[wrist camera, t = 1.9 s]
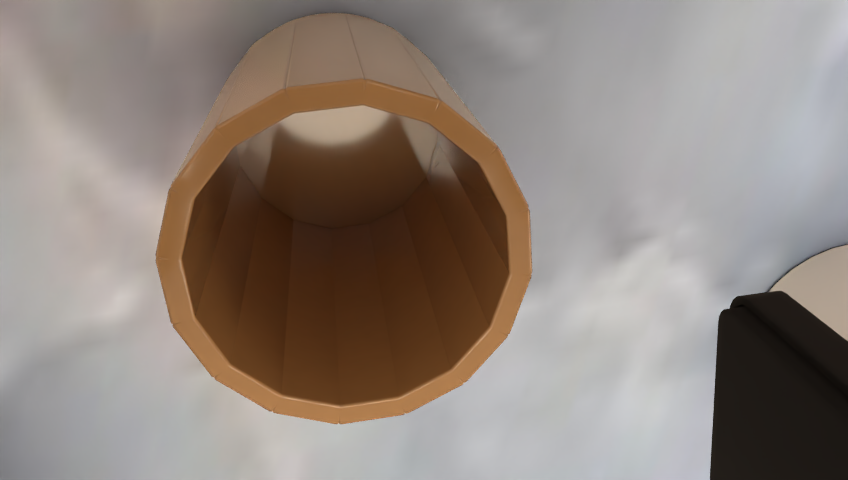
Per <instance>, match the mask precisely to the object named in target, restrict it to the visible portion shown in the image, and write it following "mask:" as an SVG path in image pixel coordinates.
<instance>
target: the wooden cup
mask: <svg viewBox="0 0 848 480" xmlns="http://www.w3.org/2000/svg"><path fill="white" fill-rule="evenodd" d="M156 264H157V268H158V272H159V276H160V280H161V284H162V288H163V293H164V297H165V301H166V305H167V309H168V313H169V317H170V321H171V323H172V324H173V327H174V329H175V330H176V331H177V332H178V334H179V335H180V336H181V337H182V339H183V340H184V341H185V343H186V344H187V345H188V346H189V348H190V349H191V350H192V352H193V353H194V354H195V355H196V357H197V358H198V359H199V361H200V362H201V363H202V364H203V366H204V367H205V368H206V370H207V371H208V372H209V373H210V375H211V376H212V377H214V378H215V380H217V381H219V382H220V383H222V384H224V385H225V386H227V387H229V388H231V389H232V390H234V391H236V392H237V393H239V394H241V395H243V396H244V397H246V398H248V399H249V400H251V401H253V402H255V403H256V404H258V405H260V406H262V407H263V408H265V409H267V410H268V411H273V412H274V413H277V414H283V415H288V416H294V417H299V418H305V419H310V420H316V421H322V422H327V423H333V424H338V423H339V424H346V423H353V422H359V421H366V420H372V419H379V418H385V417H392V416H398V415H403V414H405V413H409V412H411V411H413V410H415V409H417V408H419V407H421V406H423V405H424V404H426V403H428V402H430V401H432V400H434V399H436V398H438V397H440V396H442V395H444V394H446V393H447V392H449V391H451V390H453V389H455V388H457V387H459V386H461V385H462V384H463V382H466V381H467V380H468V379H469V378H470V377H471V376H472V375H473V374H474V373H475V372H476V371H477V369H478V368H479V367H480V366H481V365H482V364H483V363H484V362H485V361H486V360H487V359H488V358H489V356H490V355H491V354H492V353H493V352H494V351H495V350H496V349H497V348H498V347H499V346H500V344H501V343H502V342H503V341H504V340H505V339H506V338H507V336H508V334H509V333H510V331H511V328H512V326H513V323H514V321H515V318H516V315H517V313H518V310H519V308H520V305H521V302H522V300H523V297H524V295H525V292H526V289H527V287H528V284H529V281H530V279H531V274H532V253H531V229H530V210H529V209H528V204H527V202H526V200H525V198H524V196H523V194H522V192H521V190H520V188H519V186H518V184H517V182H516V180H515V178H514V176H513V174H512V172H511V170H510V168H509V166H508V164H507V162H506V160H505V158H504V156H503V154H502V152H501V150H500V149H499V147H498V146H497V145H496V143H495V142H494V141H493V140H492V138H491V137H490V136H489V135H488V133H487V132H486V131H485V129H484V128H483V127H482V126H481V124H480V123H479V122H478V121H477V119H476V118H475V117H474V115H473V114H472V113H471V112H470V110H469V109H468V108H467V107H466V105H465V104H464V103H463V102H462V100H461V99H460V98H459V96H458V95H457V94H456V93H455V91H454V90H453V89H452V88H451V86H450V85H449V84H448V82H447V81H446V80H445V79H444V77H443V76H442V75H441V74H440V72H439V71H438V70H437V68H436V67H435V66H434V65H433V63H432V62H431V61H430V60H429V58H428V57H427V56H426V55H425V54H424V53H423V52H421V51H420V50H419V49H418V48H416V47H415V46H414V45H413V44H412V43H411V42H410V41H409V40H408V39H407V38H405V37H404V36H402V35H401V34H400V33H398V32H397V31H396V30H395V29H394V28H391V27H390V26H387V25H384V24H383V23H380V22H377V21H375V20H372V19H369V18H366V17H362V16H358V15H353V14H345V13H320V14H314V15H309V16H304V17H301V18H298V19H294V20H292V21H289V22H287V23H285V24H283V25H281V26H279V27H277V28H275V29H274V30H272V31H271V32H269V33H268V34H266V35H265V36H263V37H262V38H261V39H259V40H257V41H256V42H255V43H254V44H253V45H252V46H251V47H250V49H249V50H248V51H247V53H246V54H245V55H244V56H243V57H242V59H241V60H240V62H239V63H238V65H237V66H236V68H235V69H234V70H233V72H232V73H231V75H230V76H229V77H228V79H227V80H226V82H225V84H224V86H223V88H222V90H221V92H220V94H219V95H218V97H217V99H216V101H215V103H214V105H213V107H212V109H211V111H210V112H209V114H208V116H207V118H206V120H205V122H204V124H203V126H202V128H201V129H200V131H199V133H198V135H197V137H196V139H195V141H194V143H193V145H192V146H191V148H190V150H189V152H188V154H187V156H186V158H185V160H184V162H183V163H182V165H181V167H180V169H179V171H178V173H177V175H176V177H175V179H174V180H173V182H172V184H171V187H170V189H169V191H168V196H167V201H166V206H165V211H164V216H163V220H162V225H161V230H160V235H159V240H158V245H157V250H156Z"/></svg>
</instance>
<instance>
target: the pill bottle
mask: <svg viewBox="0 0 848 480" xmlns="http://www.w3.org/2000/svg"><path fill="white" fill-rule="evenodd" d="M772 291H783V292H785V293H787V294H788V295H789V296H790V297H792V298H793V299H794V300H796V301H797V302H798V303H799V304H801V305H802V306H803V307H805V308H806V309H807V310H808V311H810V312H811V313H812V314H813V315H815V316H816V317H817V318H819V319H820V320H821V321H822V322H824V323H825V324H826V325H828V326H829V327H830V328H831V329H833V330H834V331H835V332H837V333H838V334H839V335H840V336H842V337H843V338H844V339H845V340H847V341H848V245H845V246H840V247H836V248H832V249H830V250H828V251H825V252H823V253H820V254H818V255H816V256H813V257H811V258H810V259H808V260H807V261H805V262H803V263H802V264H800V265H798V266H797V267H795V268H794V269H792V270H791V271H790V272H789V273H788V274H786V275H785V276H784V277H783V278H782V279H781V280H779V281H778V282H777V283H776V284H775V285H774V286H773V287H772V289H771V290H770V291H769V292H772Z"/></svg>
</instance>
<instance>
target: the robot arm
mask: <svg viewBox="0 0 848 480" xmlns="http://www.w3.org/2000/svg"><path fill="white" fill-rule="evenodd" d="M710 480H848V341H847V340H845V339H844V338H843V337H842V336H840V335H839V334H838V333H837V332H835V331H834V330H833V329H831V328H830V327H829V326H828V325H826V324H825V323H824V322H822V321H821V320H820V319H819V318H817V317H816V316H815V315H813V314H812V313H811V312H810V311H808V310H807V309H806V308H805V307H803V306H802V305H801V304H799V303H798V302H797V301H796V300H794V299H793V298H792V297H790V296H789V295H788V294H787V293H785V292H783V291H772V292H765V293H758V294H751V295H744V296H737V297H736V298H735V299H733V301H732V303H731V306H730V309H724V310H723V311H722V312H721V314H720V316H719V322H718V339H717V358H716V376H715V395H714V413H713V432H712V450H711V469H710Z"/></svg>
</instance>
